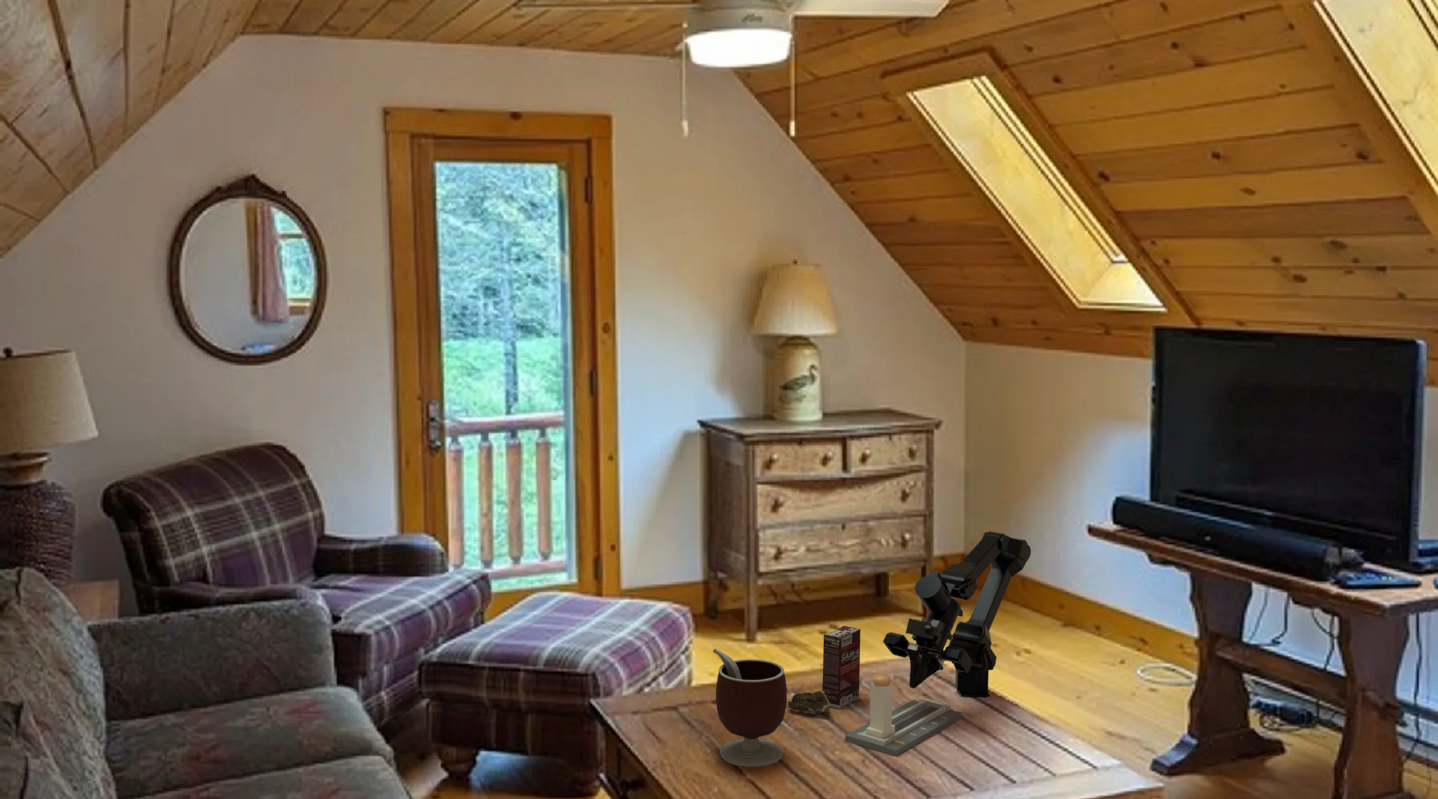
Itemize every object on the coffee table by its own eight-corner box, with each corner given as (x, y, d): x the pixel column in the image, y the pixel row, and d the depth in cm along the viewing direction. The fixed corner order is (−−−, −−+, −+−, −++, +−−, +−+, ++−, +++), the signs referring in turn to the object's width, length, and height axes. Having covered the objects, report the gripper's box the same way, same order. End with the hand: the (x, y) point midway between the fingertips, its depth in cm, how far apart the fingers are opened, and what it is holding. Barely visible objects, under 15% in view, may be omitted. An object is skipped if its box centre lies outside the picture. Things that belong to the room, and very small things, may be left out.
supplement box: (840, 709, 268) (840, 638, 266) (821, 705, 271) (821, 634, 269) (860, 698, 275) (861, 628, 273) (842, 693, 278) (842, 624, 276)
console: (913, 704, 271) (913, 695, 271) (962, 718, 263) (962, 708, 263) (845, 740, 251) (845, 730, 251) (895, 756, 244) (896, 745, 243)
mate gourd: (798, 748, 247) (799, 651, 245) (765, 774, 235) (765, 671, 233) (731, 733, 255) (731, 639, 253) (695, 757, 243) (695, 658, 241)
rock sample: (840, 687, 271) (821, 669, 266) (844, 719, 266) (824, 701, 260) (798, 701, 275) (779, 684, 269) (801, 733, 270) (781, 716, 264)
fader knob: (879, 730, 253) (880, 671, 252) (894, 735, 251) (895, 675, 249) (866, 738, 249) (866, 678, 248) (881, 742, 247) (882, 682, 246)
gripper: (888, 595, 266) (858, 658, 259) (965, 611, 254) (937, 678, 247) (907, 622, 273) (879, 684, 266) (983, 639, 261) (956, 705, 254)
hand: (911, 687), depth 258 cm, fingers closed
